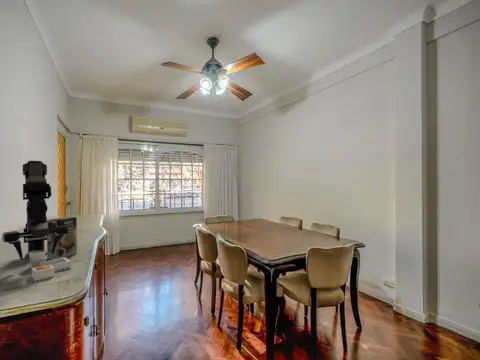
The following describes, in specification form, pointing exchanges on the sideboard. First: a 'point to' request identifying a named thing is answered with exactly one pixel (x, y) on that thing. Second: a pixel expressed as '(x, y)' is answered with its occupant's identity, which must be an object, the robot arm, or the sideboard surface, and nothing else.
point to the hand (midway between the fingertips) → (37, 256)
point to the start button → (42, 267)
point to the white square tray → (57, 263)
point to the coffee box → (64, 239)
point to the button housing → (43, 273)
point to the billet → (36, 258)
